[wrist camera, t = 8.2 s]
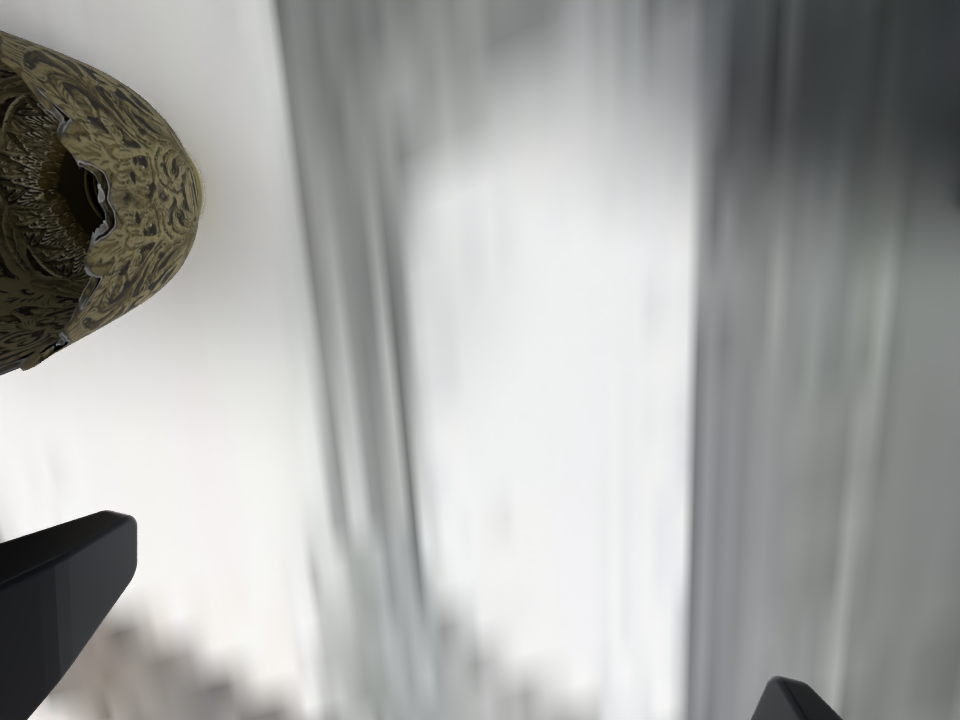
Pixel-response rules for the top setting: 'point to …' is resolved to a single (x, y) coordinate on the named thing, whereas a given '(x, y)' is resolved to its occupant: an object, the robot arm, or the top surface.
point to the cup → (82, 201)
